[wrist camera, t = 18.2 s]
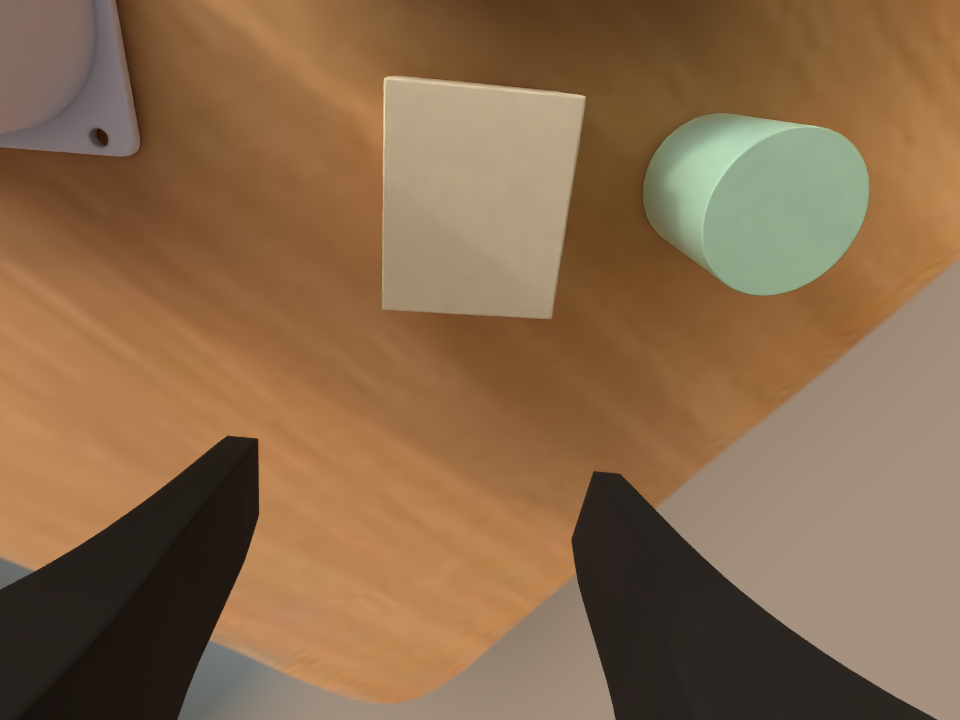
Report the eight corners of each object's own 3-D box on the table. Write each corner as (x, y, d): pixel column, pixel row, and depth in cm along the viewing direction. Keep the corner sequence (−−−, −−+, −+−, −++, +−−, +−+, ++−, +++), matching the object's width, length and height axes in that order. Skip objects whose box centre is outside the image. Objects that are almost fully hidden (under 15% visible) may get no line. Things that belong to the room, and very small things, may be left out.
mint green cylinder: (629, 243, 20) (683, 291, 15) (659, 106, 18) (729, 117, 13) (748, 251, 20) (832, 300, 16) (790, 119, 18) (899, 134, 14)
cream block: (393, 262, 19) (381, 310, 15) (396, 75, 17) (383, 76, 13) (529, 271, 20) (551, 320, 16) (553, 90, 17) (587, 96, 13)
